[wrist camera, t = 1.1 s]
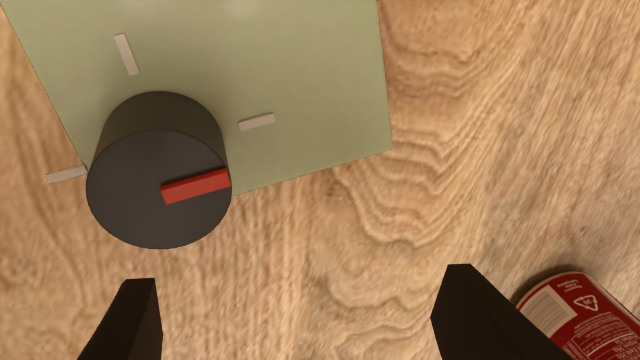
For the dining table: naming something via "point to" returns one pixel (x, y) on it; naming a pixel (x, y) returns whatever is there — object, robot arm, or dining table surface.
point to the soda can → (582, 318)
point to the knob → (159, 172)
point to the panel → (219, 74)
